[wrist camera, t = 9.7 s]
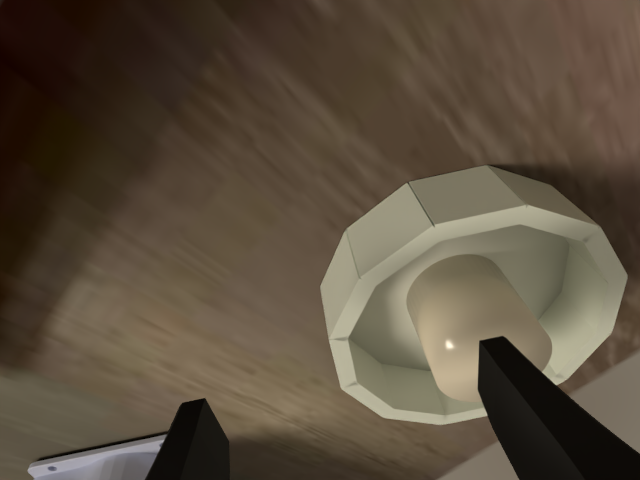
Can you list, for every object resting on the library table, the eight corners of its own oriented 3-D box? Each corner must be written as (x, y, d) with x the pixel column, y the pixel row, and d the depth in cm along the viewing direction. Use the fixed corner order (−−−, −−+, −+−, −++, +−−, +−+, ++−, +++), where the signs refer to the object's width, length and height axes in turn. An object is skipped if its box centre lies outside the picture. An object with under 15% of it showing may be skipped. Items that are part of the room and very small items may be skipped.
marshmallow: (408, 337, 24) (435, 410, 20) (403, 265, 21) (434, 335, 17) (499, 319, 24) (544, 389, 20) (507, 245, 21) (560, 310, 17)
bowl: (344, 388, 26) (354, 443, 23) (299, 205, 19) (306, 251, 16) (557, 344, 26) (594, 393, 23) (596, 141, 19) (656, 177, 16)
